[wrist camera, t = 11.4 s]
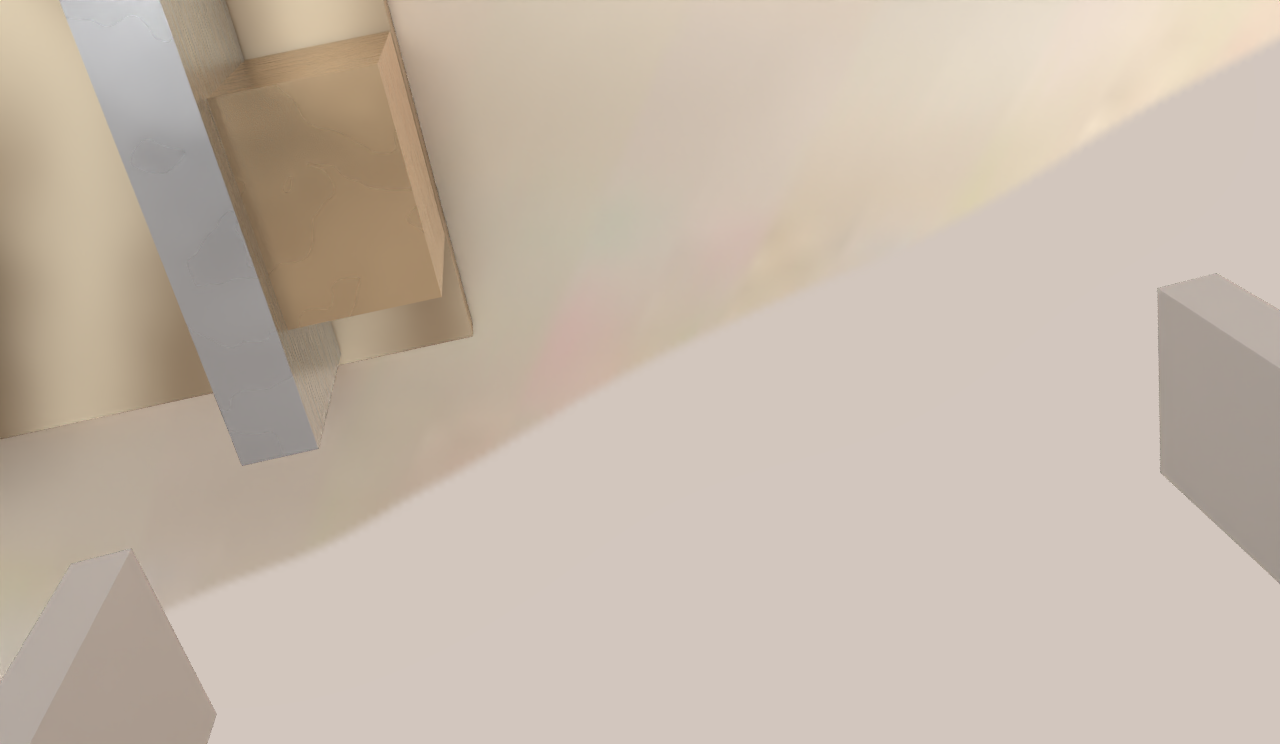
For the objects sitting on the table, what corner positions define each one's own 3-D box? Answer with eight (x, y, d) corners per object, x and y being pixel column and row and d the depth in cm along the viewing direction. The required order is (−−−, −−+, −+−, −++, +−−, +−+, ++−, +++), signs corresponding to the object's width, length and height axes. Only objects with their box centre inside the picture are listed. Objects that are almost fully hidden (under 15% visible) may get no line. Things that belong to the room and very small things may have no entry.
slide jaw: (276, 367, 34) (241, 465, 29) (129, -41, 29) (53, -13, 24) (469, 325, 35) (469, 415, 29) (358, -86, 29) (335, -69, 24)
